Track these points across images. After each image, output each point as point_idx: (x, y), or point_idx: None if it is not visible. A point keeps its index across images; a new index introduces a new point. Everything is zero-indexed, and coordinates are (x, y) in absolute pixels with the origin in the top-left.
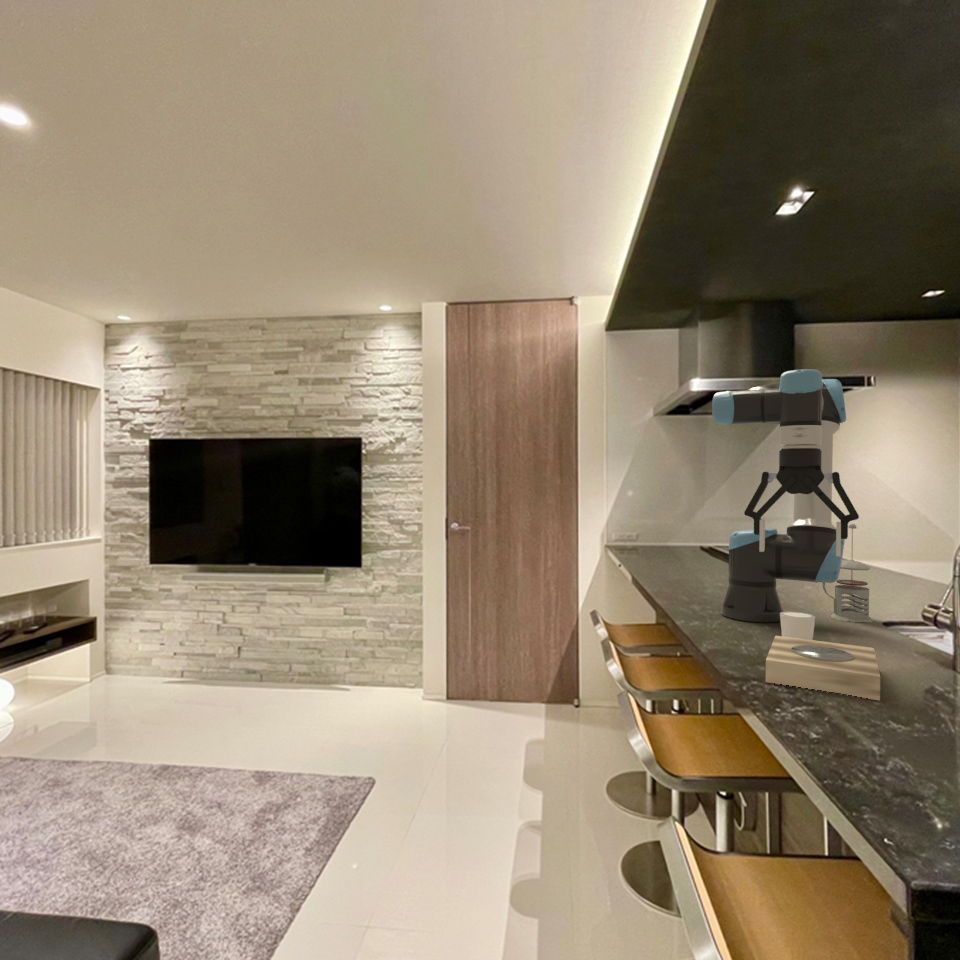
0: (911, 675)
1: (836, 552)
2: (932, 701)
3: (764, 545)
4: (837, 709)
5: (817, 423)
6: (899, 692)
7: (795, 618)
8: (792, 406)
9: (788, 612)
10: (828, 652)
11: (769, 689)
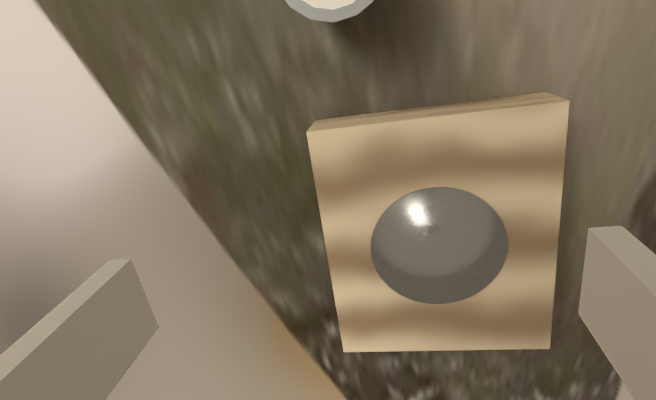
0: (635, 92)
1: (593, 334)
2: None
3: (116, 294)
4: (465, 382)
5: None
6: (577, 249)
7: (334, 21)
8: None
9: None
10: (451, 240)
11: None
